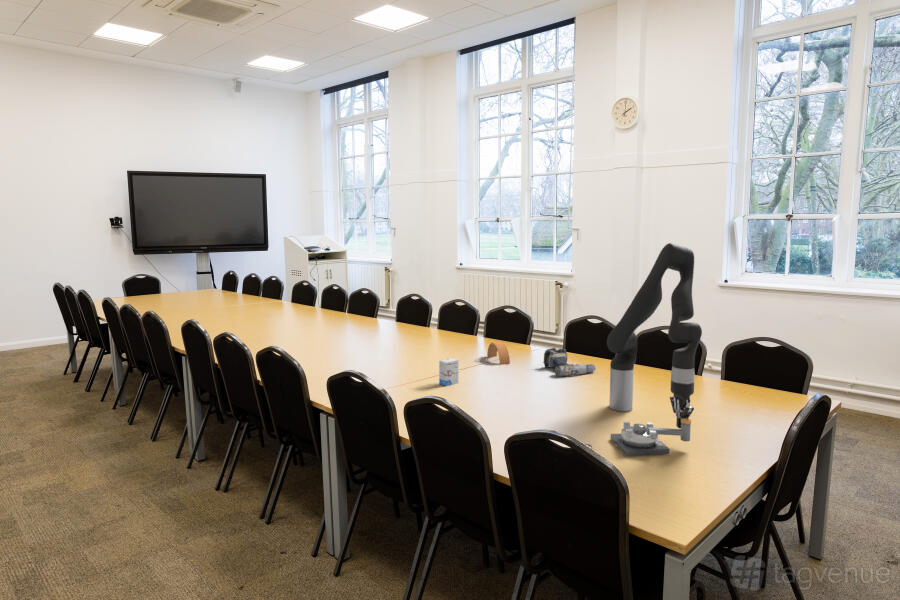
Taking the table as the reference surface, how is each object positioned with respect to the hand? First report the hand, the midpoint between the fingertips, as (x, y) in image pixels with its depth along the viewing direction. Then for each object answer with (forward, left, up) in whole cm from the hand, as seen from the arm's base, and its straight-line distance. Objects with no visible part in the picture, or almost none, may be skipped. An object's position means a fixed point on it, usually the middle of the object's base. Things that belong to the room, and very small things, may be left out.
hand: (680, 427), depth 202 cm
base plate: (+1, -15, -6) cm, 16 cm away
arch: (-126, -46, -6) cm, 135 cm away
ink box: (-83, -76, -6) cm, 113 cm away
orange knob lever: (+2, -10, -4) cm, 11 cm away
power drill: (-99, -15, -7) cm, 100 cm away
